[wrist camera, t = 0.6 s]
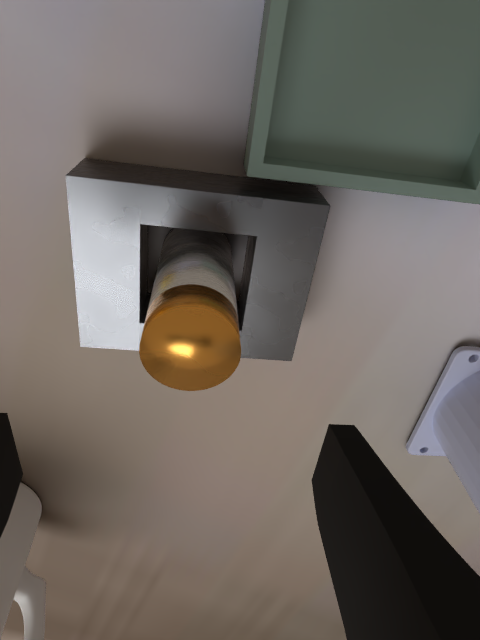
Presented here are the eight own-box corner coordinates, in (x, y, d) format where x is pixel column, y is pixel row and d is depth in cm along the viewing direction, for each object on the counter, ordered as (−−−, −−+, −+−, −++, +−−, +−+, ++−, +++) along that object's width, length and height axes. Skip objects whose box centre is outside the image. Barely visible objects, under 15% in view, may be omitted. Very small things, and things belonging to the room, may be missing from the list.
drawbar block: (315, 186, 17) (330, 205, 15) (283, 329, 21) (291, 360, 19) (84, 158, 16) (65, 175, 14) (94, 314, 20) (80, 346, 18)
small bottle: (235, 225, 18) (247, 314, 12) (227, 287, 19) (234, 393, 14) (163, 217, 17) (139, 305, 12) (160, 282, 19) (139, 388, 13)
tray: (581, -109, 13) (630, -129, 11) (459, 190, 18) (482, 204, 16) (288, -174, 12) (299, -207, 10) (243, 164, 16) (247, 176, 15)
